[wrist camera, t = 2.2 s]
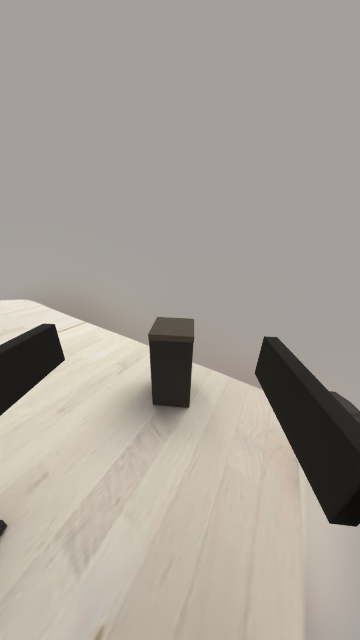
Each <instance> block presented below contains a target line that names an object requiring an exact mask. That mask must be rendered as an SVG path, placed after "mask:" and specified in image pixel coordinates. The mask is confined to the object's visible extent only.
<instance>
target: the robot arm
mask: <svg viewBox="0 0 360 640" xmlns="http://www.w3.org/2000/svg"><path fill="white" fill-rule="evenodd" d="M64 360H65V358H64V354H63V351H62V348H61V344H60V341H59V337H58V334H57V330H56V327H55V324H42V325H40V326H38V327H35V328H33V329H31V330H29V331H27V332H25V333H23V334H21V335H19V336H17V337H15V338H13V339H11V340H9V341H7V342H5V343H3V344H1V345H0V416H1V415H2V414H3V413H4V412H5V411H6V410H8V409H9V408H10V407H11V406H12V405H13V404H14V403H16V402H17V401H18V400H19V399H20V398H21V397H23V396H24V395H25V394H26V393H27V392H28V391H29V390H31V389H32V388H33V387H34V386H35V385H36V384H38V383H39V382H40V381H41V380H42V379H43V378H45V377H46V376H47V375H48V374H49V373H50V372H51V371H53V370H54V369H55V368H56V367H57V366H58V365H60V364H61V363H62V362H63V361H64ZM255 375H256V377H257V379H258V381H259V383H260V385H261V387H262V389H263V391H264V393H265V395H266V397H267V399H268V401H269V403H270V405H271V407H272V409H273V411H274V413H275V415H276V417H277V419H278V421H279V423H280V425H281V427H282V429H283V431H284V433H285V435H286V437H287V439H288V441H289V443H290V445H291V447H292V449H293V451H294V453H295V455H296V457H297V459H298V461H299V463H300V465H301V467H302V469H303V471H304V473H305V475H306V477H307V479H308V481H309V483H310V485H311V487H312V489H313V491H314V493H315V495H316V497H317V499H318V501H319V503H320V505H321V507H322V509H323V511H324V513H325V515H326V517H327V519H328V521H329V523H331V524H338V525H347V526H358V525H359V524H360V411H359V410H358V409H357V408H356V407H355V406H354V405H353V404H352V403H351V402H349V401H348V400H346V399H345V398H343V397H342V396H340V395H339V394H338V393H336V392H330V391H328V390H327V389H326V388H325V387H324V386H323V385H322V384H321V383H320V382H319V381H318V379H317V378H315V376H314V375H313V374H312V373H311V372H310V371H309V370H308V369H307V368H306V367H305V366H304V365H303V364H302V363H301V362H300V361H299V360H298V359H297V358H296V356H295V355H294V354H293V353H292V352H291V351H290V350H289V349H288V348H287V347H286V346H285V345H284V344H283V343H282V342H281V341H280V340H279V339H278V338H277V337H264V339H263V343H262V347H261V351H260V354H259V359H258V362H257V366H256V370H255Z"/></svg>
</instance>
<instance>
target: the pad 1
mask: <svg viewBox="0 0 360 640" xmlns="http://www.w3.org/2000/svg"><path fill="white" fill-rule="evenodd" d="M6 527H7V525H6V523H5V522H4V521H3V520H0V536H1V535H2V533H3V532H4V530H5V529H6Z"/></svg>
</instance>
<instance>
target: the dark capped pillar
mask: <svg viewBox="0 0 360 640" xmlns="http://www.w3.org/2000/svg"><path fill="white" fill-rule="evenodd" d="M148 337H149V346H150V363H151V380H152V397H153V405H163V406H176V407H189V403H190V387H191V371H192V355H193V342H194V319H185V318H164V317H157V319H156V321H155V323H154V324H153V326H152V328H151V330H150V332H149V334H148Z"/></svg>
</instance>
